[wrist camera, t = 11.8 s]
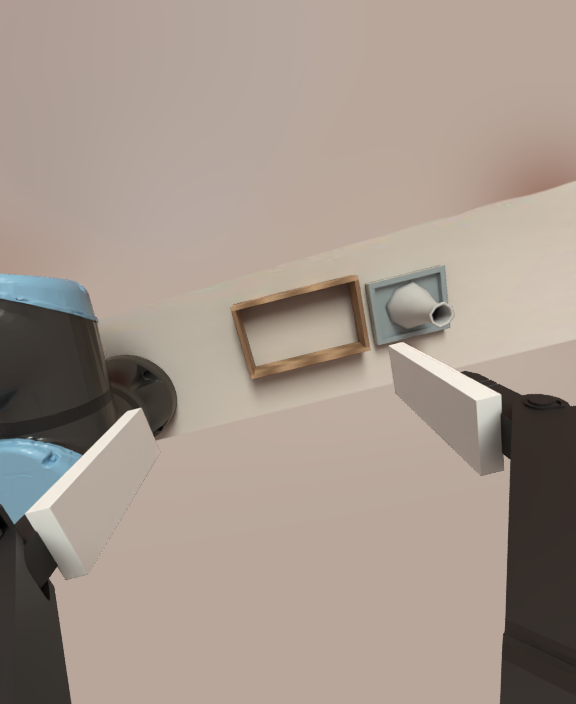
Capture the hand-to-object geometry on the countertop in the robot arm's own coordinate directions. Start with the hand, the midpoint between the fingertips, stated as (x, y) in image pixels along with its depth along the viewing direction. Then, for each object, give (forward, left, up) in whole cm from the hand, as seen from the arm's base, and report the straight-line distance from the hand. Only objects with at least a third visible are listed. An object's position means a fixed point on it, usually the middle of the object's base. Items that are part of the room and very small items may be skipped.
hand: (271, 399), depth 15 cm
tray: (+22, -1, -34) cm, 40 cm away
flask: (+22, -1, -33) cm, 40 cm away
